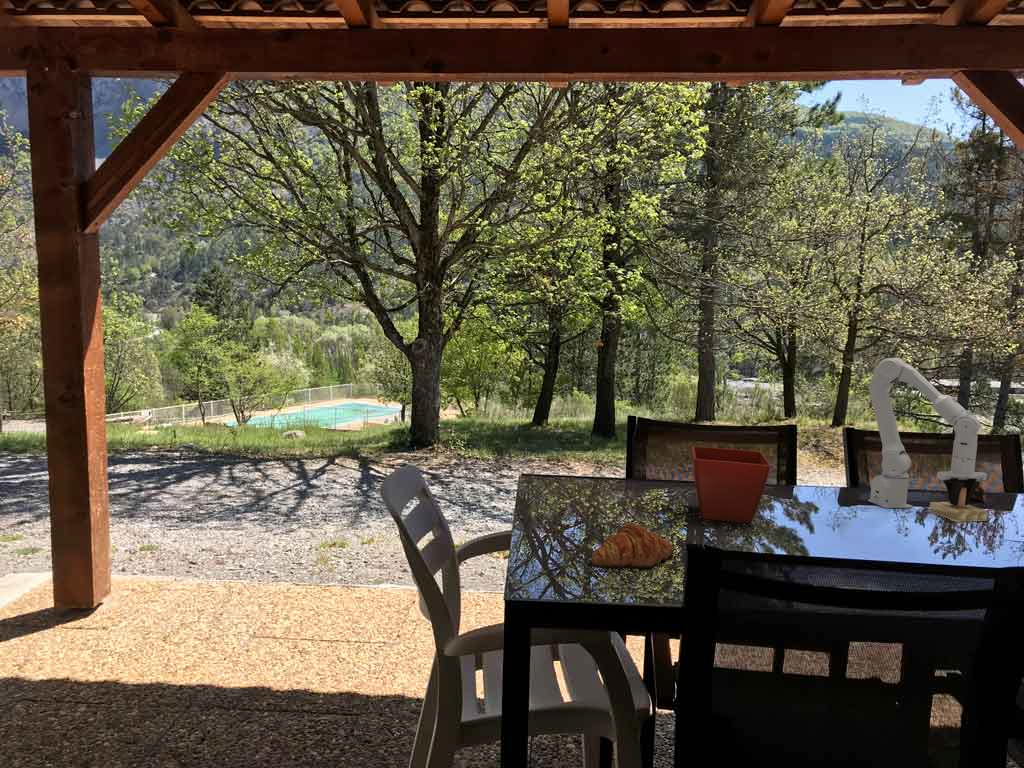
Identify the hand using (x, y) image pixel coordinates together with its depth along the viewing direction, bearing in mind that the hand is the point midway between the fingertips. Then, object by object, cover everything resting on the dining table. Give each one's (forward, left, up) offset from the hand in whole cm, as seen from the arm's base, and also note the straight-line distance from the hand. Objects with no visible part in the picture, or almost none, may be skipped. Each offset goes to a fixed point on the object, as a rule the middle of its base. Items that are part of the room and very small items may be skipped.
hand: (958, 504), depth 214 cm
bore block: (0, 0, -4) cm, 4 cm away
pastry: (-108, -31, -4) cm, 113 cm away
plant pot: (-70, +3, -4) cm, 70 cm away
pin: (0, 0, -2) cm, 2 cm away
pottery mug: (+20, +19, -4) cm, 28 cm away
